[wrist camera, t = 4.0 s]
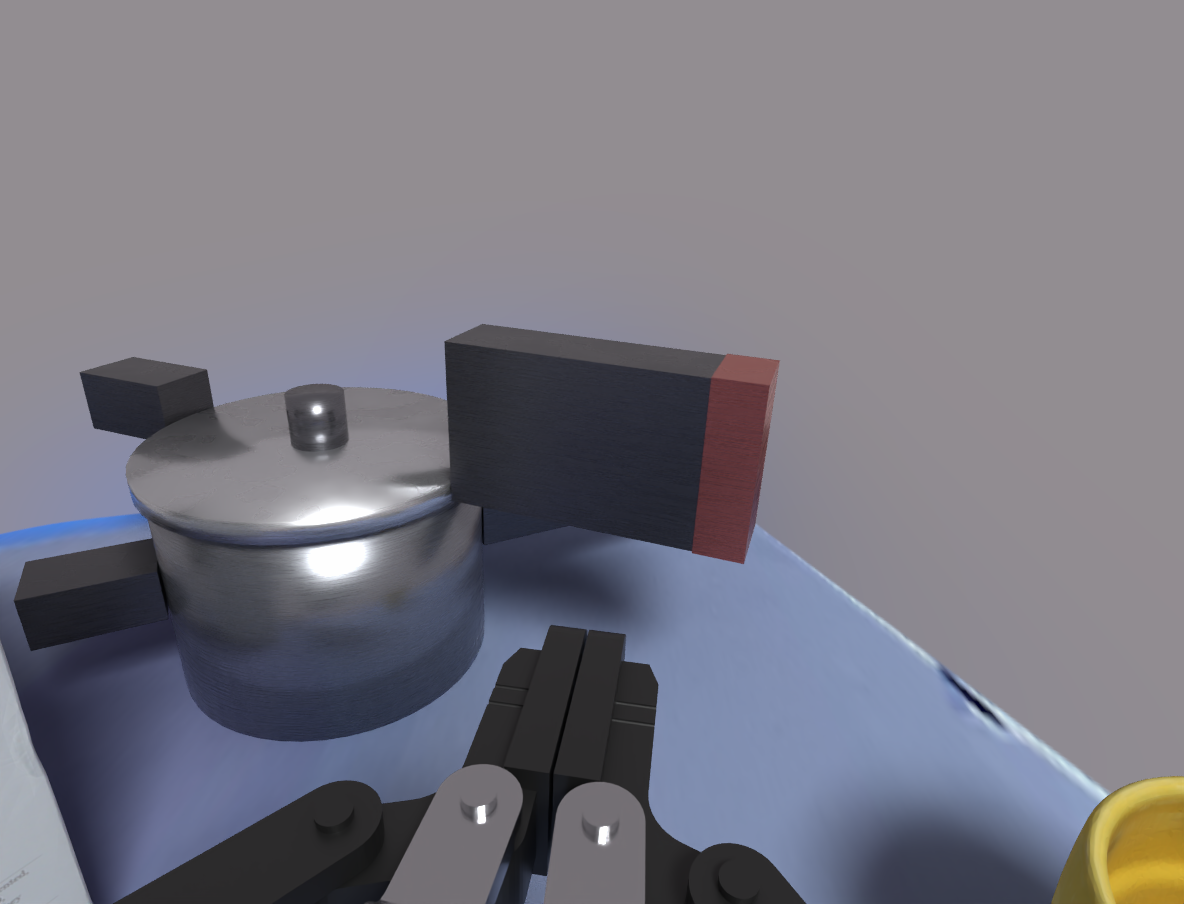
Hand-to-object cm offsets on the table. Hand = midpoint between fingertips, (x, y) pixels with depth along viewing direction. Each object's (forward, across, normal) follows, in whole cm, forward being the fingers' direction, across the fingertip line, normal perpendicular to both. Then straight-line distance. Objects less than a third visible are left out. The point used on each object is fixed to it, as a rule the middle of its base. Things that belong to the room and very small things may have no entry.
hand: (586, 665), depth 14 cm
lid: (+17, +12, +5) cm, 22 cm away
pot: (+20, +13, +15) cm, 28 cm away
